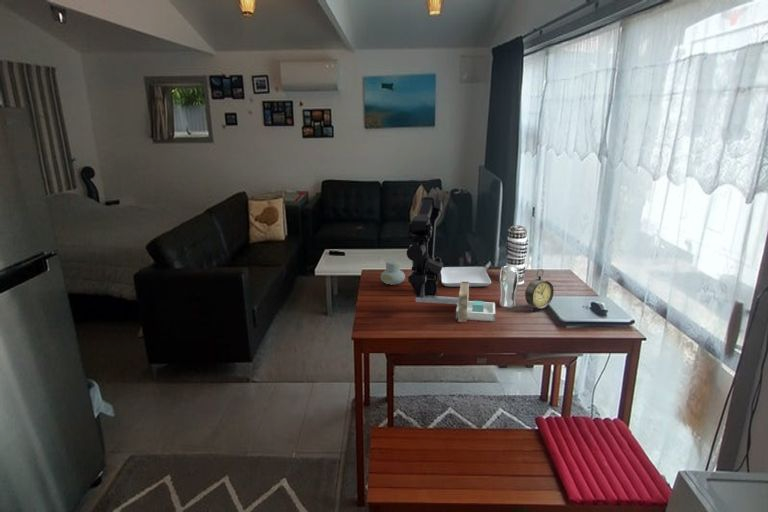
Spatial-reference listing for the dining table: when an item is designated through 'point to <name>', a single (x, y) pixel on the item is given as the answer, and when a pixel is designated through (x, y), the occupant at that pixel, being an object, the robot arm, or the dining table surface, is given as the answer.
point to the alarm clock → (539, 293)
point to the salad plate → (464, 276)
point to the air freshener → (392, 273)
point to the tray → (486, 315)
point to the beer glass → (508, 285)
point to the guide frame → (463, 301)
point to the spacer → (478, 306)
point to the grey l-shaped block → (436, 298)
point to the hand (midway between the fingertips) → (420, 292)
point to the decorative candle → (517, 250)
